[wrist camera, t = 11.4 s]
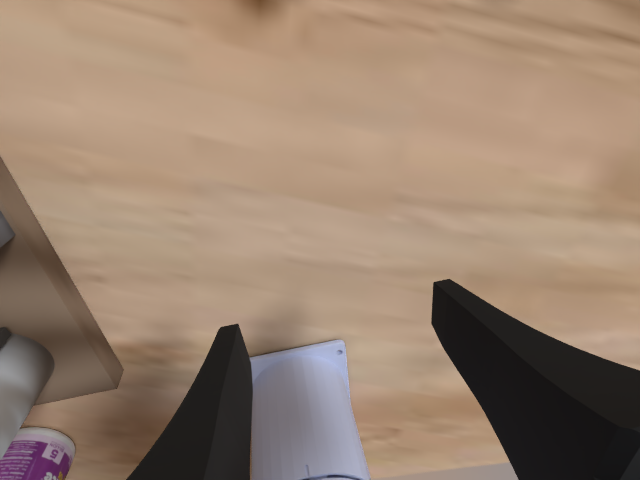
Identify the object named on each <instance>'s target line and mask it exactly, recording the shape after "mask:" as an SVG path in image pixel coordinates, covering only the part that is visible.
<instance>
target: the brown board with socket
mask: <svg viewBox="0 0 640 480" xmlns="http://www.w3.org/2000/svg"><path fill="white" fill-rule="evenodd" d="M123 371H124V370H123V368H122V366H121V364H120V363H119V361H118V359H117V357H116V356H115V354H114V352H113V351H112V349H111V347H110V345H109V344H108V342H107V340H106V338H105V337H104V335H103V333H102V332H101V330H100V328H99V326H98V325H97V323H96V321H95V319H94V318H93V316H92V314H91V312H90V311H89V309H88V307H87V306H86V304H85V302H84V300H83V299H82V297H81V295H80V293H79V292H78V290H77V288H76V287H75V285H74V283H73V281H72V280H71V278H70V276H69V274H68V273H67V271H66V269H65V268H64V266H63V264H62V262H61V261H60V259H59V257H58V255H57V254H56V252H55V250H54V249H53V247H52V245H51V243H50V242H49V240H48V238H47V236H46V235H45V233H44V231H43V229H42V228H41V226H40V224H39V223H38V221H37V219H36V217H35V216H34V214H33V212H32V210H31V209H30V207H29V205H28V204H27V202H26V200H25V198H24V197H23V195H22V193H21V191H20V190H19V188H18V186H17V185H16V183H15V181H14V179H13V178H12V176H11V174H10V172H9V171H8V169H7V167H6V166H5V164H4V162H3V160H2V159H1V157H0V460H1V459H2V457H3V456H4V454H5V453H6V451H7V449H8V448H9V446H10V444H11V443H12V441H13V439H14V437H15V436H16V434H17V432H18V431H19V429H20V427H21V426H22V424H23V422H24V420H25V419H26V417H27V415H28V414H29V412H30V410H31V409H32V407H33V406H34V405H39V404H44V403H49V402H54V401H59V400H63V399H68V398H73V397H78V396H83V395H88V394H93V393H98V392H102V391H107V390H112V389H117V387H118V384H119V381H120V379H121V376H122V374H123Z"/></svg>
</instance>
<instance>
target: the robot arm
mask: <svg viewBox="0 0 640 480" xmlns="http://www.w3.org/2000/svg"><path fill="white" fill-rule="evenodd" d="M431 323H432V325H433V328H434V330H435V332H436V334H437V336H438V338H439V340H440V342H441V344H442V346H443V348H444V350H445V351H446V353H447V354H448V356H449V358H450V359H451V361H452V362H453V364H454V365H455V367H456V368H457V370H458V371H459V373H460V374H461V376H462V378H463V379H464V381H465V382H466V384H467V385H468V387H469V388H470V390H471V391H472V393H473V394H474V396H475V397H476V399H477V400H478V402H479V404H480V405H481V407H482V409H483V410H484V412H485V414H486V416H487V418H488V420H489V421H490V423H491V425H492V427H493V429H494V431H495V433H496V435H497V437H498V439H499V441H500V443H501V445H502V447H503V449H504V451H505V453H506V455H507V457H508V459H509V461H510V463H511V465H512V466H513V469H514V471H515V473H516V475H517V477H518V479H519V480H640V371H639V370H636V369H633V368H630V367H627V366H624V365H621V364H618V363H615V362H612V361H609V360H606V359H603V358H601V357H598V356H596V355H593V354H590V353H588V352H585V351H583V350H580V349H577V348H575V347H573V346H570V345H568V344H566V343H563V342H561V341H559V340H557V339H555V338H552V337H550V336H548V335H546V334H544V333H542V332H540V331H538V330H535V329H533V328H532V327H530V326H528V325H526V324H524V323H522V322H520V321H518V320H517V319H515V318H513V317H511V316H509V315H508V314H506V313H504V312H502V311H501V310H499V309H497V308H496V307H494V306H492V305H491V304H489V303H487V302H486V301H484V300H482V299H481V298H479V297H478V296H476V295H474V294H473V293H471V292H470V291H468V290H466V289H465V288H463V287H462V286H460V285H459V284H457V283H455V282H454V281H452V280H450V279H447V280H442V281H437V282H434V284H433V303H432V322H431ZM338 350H340V351H338ZM251 422H252V480H371V477H370V474H369V470H368V466H367V463H366V459H365V455H364V452H363V448H362V444H361V441H360V437H359V434H358V430H357V426H356V423H355V419H354V415H353V412H352V408H351V403H350V392H349V381H348V370H347V359H346V348H345V343H344V341H343V340H333V341H328V342H324V343H319V344H314V345H309V346H304V347H299V348H294V349H289V350H284V351H280V352H275V353H270V354H265V355H260V356H255V357H250V358H249V355H248V352H247V349H246V346H245V343H244V340H243V337H242V334H241V331H240V328H239V325H238V324H234V325H229V326H224V327H221V328H220V329H219V330H218V332H217V335H216V337H215V340H214V342H213V344H212V346H211V349H210V351H209V353H208V355H207V357H206V359H205V361H204V363H203V365H202V367H201V369H200V371H199V373H198V375H197V377H196V379H195V381H194V383H193V384H192V386H191V388H190V390H189V391H188V393H187V395H186V397H185V398H184V400H183V402H182V403H181V405H180V407H179V408H178V410H177V412H176V413H175V415H174V416H173V418H172V419H171V421H170V422H169V424H168V425H167V427H166V428H165V430H164V431H163V433H162V434H161V436H160V437H159V438H158V440H157V441H156V442H155V444H154V445H153V447H152V448H151V449H150V451H149V452H148V453H147V455H146V456H145V457H144V459H143V460H142V461H141V462H140V464H139V465H138V466H137V467H136V469H135V470H134V471H133V472H132V474H131V475H130V476H129V477H128V478H127V479H126V480H250V441H251Z"/></svg>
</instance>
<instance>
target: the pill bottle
mask: <svg viewBox="0 0 640 480" xmlns="http://www.w3.org/2000/svg"><path fill="white" fill-rule="evenodd" d="M74 456H75V446H74V443H73V441H72V440H71V439H70V438H69V437H68V436H66V435H64V434H63V433H61V432H59V431H56V430H53V429H49V428H40V427H27V428H21V429H19V431H18V432H17V434H16V436H15V437H14V439H13V441H12V443H11V444H10V446H9V448H8V449H7V451H6V453H5V454H4V456H3V457H2V459H1V460H0V480H65V478H66V476H67V474H68V471H69V468H70V466H71V463H72V461H73V458H74Z"/></svg>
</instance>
